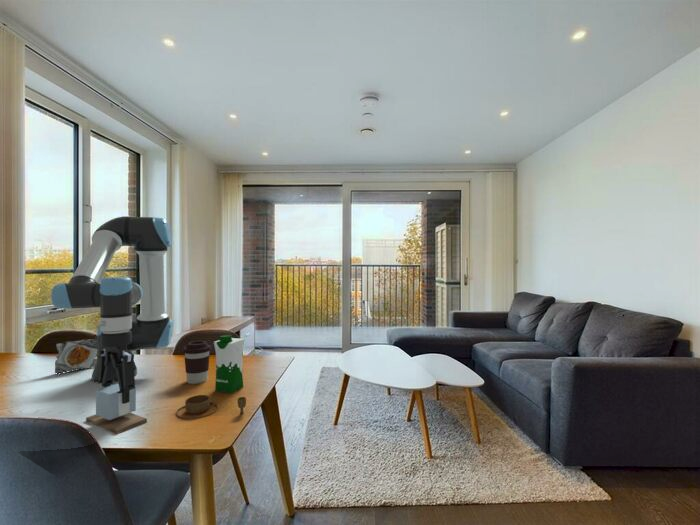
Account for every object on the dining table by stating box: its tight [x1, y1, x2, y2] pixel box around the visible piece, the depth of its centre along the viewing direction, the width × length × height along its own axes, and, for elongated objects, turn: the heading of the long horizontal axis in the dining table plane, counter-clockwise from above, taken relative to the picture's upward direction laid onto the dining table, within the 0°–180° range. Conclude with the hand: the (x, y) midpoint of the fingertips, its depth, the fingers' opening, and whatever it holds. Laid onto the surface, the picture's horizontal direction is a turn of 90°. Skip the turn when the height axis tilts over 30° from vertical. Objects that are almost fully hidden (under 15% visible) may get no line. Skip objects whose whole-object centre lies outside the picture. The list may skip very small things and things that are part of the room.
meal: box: [54, 338, 97, 374], centre depth 147 cm, size 15×4×13 cm, turn 142°
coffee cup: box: [182, 340, 212, 385], centre depth 135 cm, size 10×10×15 cm
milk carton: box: [213, 334, 245, 394], centre depth 126 cm, size 9×9×20 cm
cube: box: [95, 383, 137, 420], centre depth 99 cm, size 7×7×7 cm
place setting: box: [175, 394, 247, 420], centre depth 104 cm, size 18×20×6 cm
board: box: [85, 412, 148, 435], centre depth 99 cm, size 16×8×2 cm, turn 61°
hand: (116, 411), depth 99 cm, fingers closed on cube, 7 cm apart
